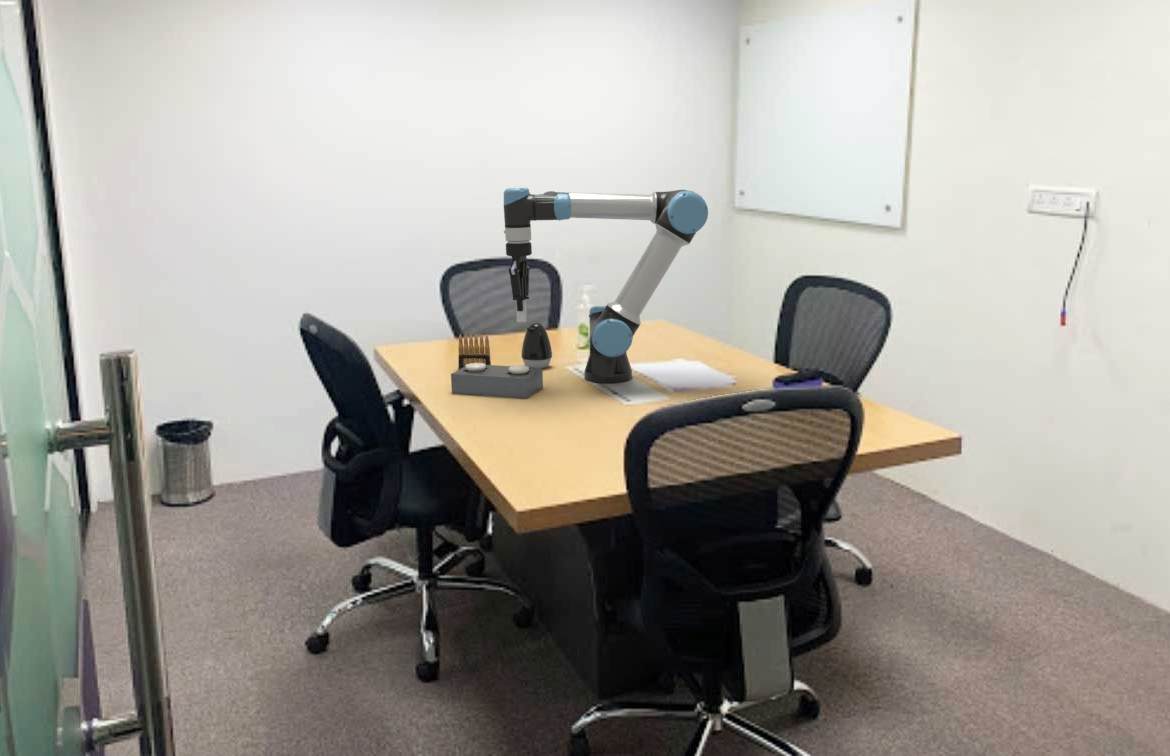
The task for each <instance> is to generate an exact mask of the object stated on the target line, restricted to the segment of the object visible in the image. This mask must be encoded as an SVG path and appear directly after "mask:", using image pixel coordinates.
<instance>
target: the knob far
mask: <svg viewBox="0 0 1170 756" xmlns="http://www.w3.org/2000/svg"><path fill="white" fill-rule="evenodd" d="M485 369H486V365H485V364H484V363H475V362H474V363H470V364H466V370H468V371H469V372H483V370H485Z"/></svg>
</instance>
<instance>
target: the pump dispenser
mask: <svg viewBox="0 0 1170 756" xmlns="http://www.w3.org/2000/svg"><path fill="white" fill-rule="evenodd" d="M521 346H522V347H521V359H522V361H523V364H524V366H528V367H531V368H543V369H545V368H547V367H548V366H549V365H550V363H551V360H552V358H553V351H552V350H553V349H552V346H551V341H550V337H549V335H548V332H547V330H546V328H545V327H544V325H543V324H542V323H540V322H533V323H531V324H530V325H529V326H528V327H526V331H525V334H524V338H523V342H522V345H521Z"/></svg>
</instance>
